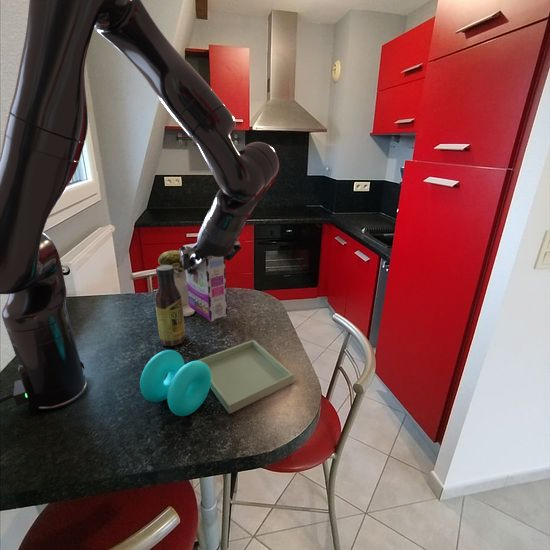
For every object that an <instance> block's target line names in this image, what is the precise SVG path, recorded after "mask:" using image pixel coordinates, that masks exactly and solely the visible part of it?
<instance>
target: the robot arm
mask: <svg viewBox="0 0 550 550" xmlns="http://www.w3.org/2000/svg"><path fill="white" fill-rule="evenodd" d="M25 29H26V30H25V35H24V42H23V48H22V53H21V58H20V62H19V68H18V73H17V78H16V83H15V87H14V92H13V96H12V100H11V102H10V106H9V111H8V115H7V120H6V124H5V129H4V134H3V140H2V147H1V152H0V295H8V296H7V300H6V302H5V305H4V306H3V309H2V311H1V318H2V321H3V324H4V326H5V330H6V332H7V335H8V338H9V340H10V343H11V347H12V349H13V352H14V355H15V358H16V361H17V365H18V368H17V371H18V375H19V379H18V380H15V381H14V382H13V383H14V384H13V392H11V393H8V394H6V395H4V396H0V404H2V403H4V402H5V401H8V400H10V399H12V398H13V399H14V401H15V404H16V406H17V407H18V406H19V407H20V406H22V405H24V404H27V403H29V406H30V408H31V412H32V413H36V412H39V411H54V410H57V409H61V408H64V407H67V406H68V405H70V404H72V403H74V402H76V401H77V400H78V399H79V398H81V397H82V396H83V395H84V393H85V392H86V390H87V388H88V382H87V379H86V375H85V373H84V370H86V368H85V365H84V363H83V362H82V361H81V358H80V355H79V351H78V346H77V342H76V339H75V336H74V332H73V328H72V325H71V321H70V317H69V313H68V309H67V305H66V304H67V303H66V302H67V297H68V296H67V295H68V292H67V286H66V285H67V284H66V281H65V275H64V271H63V265H62V261H61V258H60V254H59V251H58V249H57V247H56V245H55V243H54V242H53V241H52V239H51V238H50V237H49V236H48V235H46V234H45V233H44V230H45V227H46V224H47V221H48V219H49V217H50V215H51V213H52V211H53V210H54V208H55V206H57V203H58V202H59V201H60V199H61V198H62V196H63V194H64V193H65V191H66V190H67V188H68V186H69V184H70V183H71V181H72V180H73V177H74V176H75V174H76V171H77V168H78V166H79V163H80V160H81V157H82V153H83V150H84V146H85V143H86V139H87V135H88V128H89V110H88V99H87V93H86V79H85V72H86V71H85V70H86V69H85V68H86V59H87V55H88V50H89V47H90V43H91V40H92V37H93V33H94V30H95V31H96V32H97V33H98V34H100V35H101V36H102V37H103V38H104V39H105V40H106V41H108V42H109V43H110V44H111V45H112V46H113V47H115V48H116V49H117V50H118V51H119V52H120V53H121V54H122V55H123V56H124V57H125V58H126V59H127V60H129V62H130V63H131V64H132V65H133V66H134V67H135V68H136V70H137V71H138V72H139V74H141V76H142V77H143V78H144V80H145V81H146V82H147V83H148V85H149V87H150V89H152V91H153V92H154V94H155V95H156V97H157V98H158V100H159V101H160V102H161V104H162V105H163V106H164V108H165V109H166V111H167V112H168V113H169V115H171V117H172V118H173V119H174V121H175V122H176V123H177V124H178V125H179V127H181V129H182V130H183V131H184V132H185V134H187V135H188V136H189V138H190V139H191V140H192V141H193V143H195V145H196V146H197V147H198V149H199V151H200V153H201V155H202V157H203V159H204V161H205V162H206V165H207V166H208V168H209V170H210V172H211V174H212V176H213V178H214V179H215V182H216V183H217V185H218V187H219V188H220V189H219V190H218V191H217V193H216V194H215V196H214V199H213V201H212V204H211V206H210V208H209V209H208V211H207V212H206V215H205V217H204V220H203V221H202V224H201V226H200V229H199V232H198V233H197V238H196V239H197V240H196V242H195V243H196V244H195V245H194V246H193V248H190V249H186V248H185V247H184V246H181V247H180V248H179V251H180V260H181V262H182V265H183V268H184V269H186V270H187V273H189V274H190V275H193V274H194V272H195V270H196V267H197V266H198V265H202V264H203V263H204V262H205V260H206V259H210V258H212V256H214V257H218V258H219V257H223V256H225V261H227V262H228V261H231V260H232V259H233V258H234V257H235V256H236V255H237V254H238V253H239V252H240V250H241V249H243V248H242V246H241V243H240V241H239V238H240V237H241V235H242V232H243V231H244V228H245V226H246V224H247V222H248V221H249V219H250V217H251V215H252V213H253V211H254V209H255V208H256V206H257V205H258V204H259V202H260V201H261V199H263V197H264V196H266V195H265V194H266V193H267V192H268V191H269V189H271V187H272V185H273V184H274V182H275V181H276V179H277V177H278V175H279V170H280V160H279V157H278V154H277V152H276V151H275V149H274V148H273V147H272V146H271V145H270V144H268V143H266V142H262V141H254V142H250V143H248V144H246V145H244V146H243V147H242V148H240V149H239V150H237V149H236V146H235V145H234V143H233V141H232V137H231V136H232V135H233V133H234V132H235V131H236V127H237V122H236V119H235V117H234V115H233V114H232V112H231V111H230V109H228V107H227V106H226V105H225V103H224V102H223V101H222V100H221V99H220V97H219V96H218V94H217V93H216V92H215V91H214V90H213V89H212V88H211V86H210V85H209V84H208V83H207V82H206V80H205V79H204V78H203V77H202V76H201V75H200V74H199V72H198V71H197V70H195V68H194V67H193V66H192V65H191V64H190V63H189V62H188V61H187V60H186V59H185V58H184V56H182V55H181V53H180V52H179V51H178V50H177V49H176V48H175V47H174V46H173V45H172V44H171V43H170V41H169V40H168V39H167V37H166V36H165V35H164V33H163V32H162V31H161V30H160V28H159V27H158V25H157V24H156V22H155V20H153V18H152V17H151V14H150V13H149V11H148V10H147V9H146V7H145V4H144V3H143V1H142V0H29V3H28V12H27V22H26V28H25ZM194 260H195V262H194Z"/></svg>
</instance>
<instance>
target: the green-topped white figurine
mask: <svg viewBox="0 0 550 550" xmlns="http://www.w3.org/2000/svg"><path fill="white" fill-rule="evenodd" d="M157 263H158V264H159V266H163V265H171V266H173V267H174V281H175V285H176V287H177V289H178V291H179V293H180V295H181V297H182V307H183V316H184V317H190V316H192V315H194V314H195V312H196V311H195V310H193V309H192V308H191V307H189V300H188V289H187V278H186V269H184V268H183V265H182V262H181V260H180V250H177V249H175V250H168V251H164V252H162V253H161V254H160V255H159V257H158V259H157Z"/></svg>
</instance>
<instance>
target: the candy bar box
mask: <svg viewBox="0 0 550 550" xmlns="http://www.w3.org/2000/svg"><path fill="white" fill-rule="evenodd" d="M196 243H197V242H194V243H189V244H184V245H183V247H185V248H186V249H190V248H193V246H194V245H195V244H196ZM194 262H195V260H194ZM185 272H186V278H187V289H188V300H189V307H191V308H192V309H193V310H195V311H194V312H196V313H197V314H199V315H200V316H202V317H203V318H205V319H206V320H207V321H208V322H210V323H213V322H215V321H219V320H222V319H224V318H227V317H228V299H227V277H226V275H227V274H226V260H225V256H223V257H219V258H218V257H214V256H212V258H210V259H206V260H205V262H204V263H203V264H202V265H198V266H197V267H196V270H195V272H194V274H193V275H190V274H189V273H187V270H186V271H185Z"/></svg>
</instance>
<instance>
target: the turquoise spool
mask: <svg viewBox="0 0 550 550" xmlns="http://www.w3.org/2000/svg"><path fill="white" fill-rule="evenodd" d="M210 386H211V371H210V369H209V367H208V366H207V364H205V363H204V362H202V361H197V360H192V361H189V362H187V363H185V360H184V358H183V355H181V354H180V352H178V351H177V350H173V349H164V350H162V351H159V352H157V353H156V354H155V355H154V356H152V357H151V358H150V359H149V360H148V362H147V363H146V365H145V366H144V368H143V370H142V372H141V376H140V380H139V390H140V393H141V396H142V397H143V398H144V399H145V400H147V401H148V402H152V403H160V402H163V401H165V400H166V402H167V405H168V408H169V410H170V412H171V413H173V414H174V415H175V416H177V417H187V416H189V415H191V414H193V413H195V412H196V411H197V410H198V409H199V408H200V407H201V406H202V405H203V403H204V402H205V401H206V399H207V396H208V395H209V392H210V390H211V388H210Z"/></svg>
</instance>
